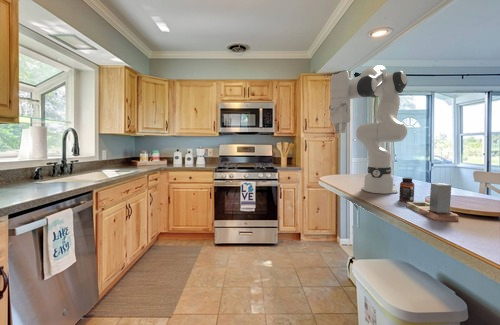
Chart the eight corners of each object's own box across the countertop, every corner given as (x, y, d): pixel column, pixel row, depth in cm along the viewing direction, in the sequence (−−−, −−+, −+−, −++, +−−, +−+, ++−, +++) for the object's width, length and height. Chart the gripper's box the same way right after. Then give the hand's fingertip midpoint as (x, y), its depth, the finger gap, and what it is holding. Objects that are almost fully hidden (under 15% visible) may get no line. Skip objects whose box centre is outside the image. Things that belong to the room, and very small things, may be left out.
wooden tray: (406, 206, 112) (406, 202, 112) (425, 206, 112) (425, 202, 111) (435, 220, 93) (435, 215, 93) (458, 220, 93) (458, 215, 92)
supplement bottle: (416, 202, 118) (417, 179, 117) (402, 202, 119) (403, 179, 118) (410, 199, 124) (411, 177, 123) (397, 199, 125) (398, 177, 124)
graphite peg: (429, 215, 99) (430, 183, 98) (441, 215, 99) (442, 182, 98) (436, 218, 95) (438, 185, 94) (449, 219, 95) (451, 185, 93)
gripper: (353, 101, 113) (353, 132, 114) (340, 106, 133) (340, 132, 135) (339, 102, 113) (339, 132, 115) (328, 107, 134) (328, 133, 135)
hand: (339, 132), depth 125 cm, fingers open, 8 cm apart
